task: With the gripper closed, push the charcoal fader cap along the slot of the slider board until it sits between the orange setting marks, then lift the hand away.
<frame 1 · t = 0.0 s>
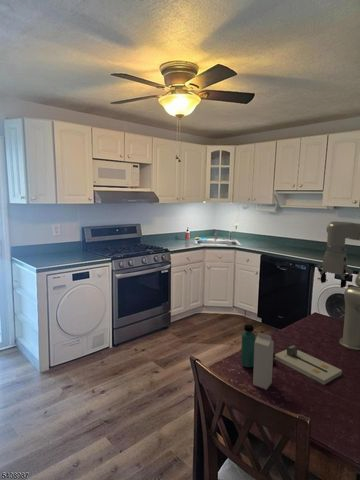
hand: (332, 284, 149), 37 cm above the table, tool pointing down, fingers open, 9 cm apart
milk: (262, 384, 132), on the table
slider board: (306, 366, 146), on the table
beverage bottle: (247, 367, 145), on the table
dragon fruit: (262, 360, 151), on the table
fader: (292, 350, 152), point 4 cm above the table, slide at -8.0 cm
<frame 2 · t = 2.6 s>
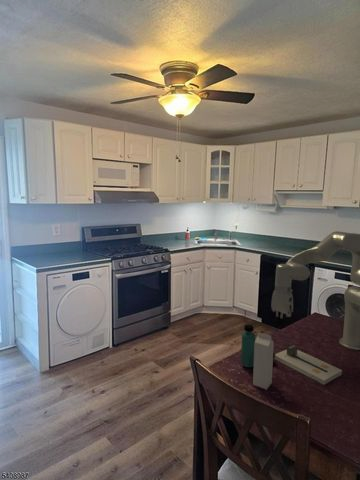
hand: (280, 324, 156), 15 cm above the table, tool pointing down, fingers closed
nothing on the table moved.
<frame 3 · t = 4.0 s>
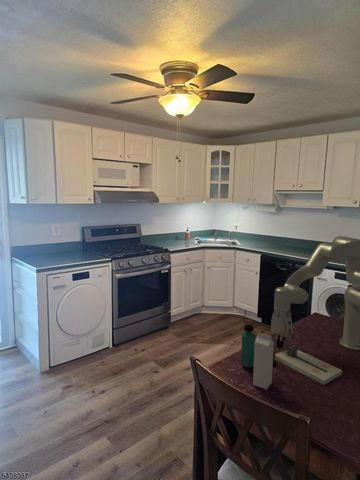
hand: (279, 347, 158), 3 cm above the table, tool pointing down, fingers closed
nothing on the table moved.
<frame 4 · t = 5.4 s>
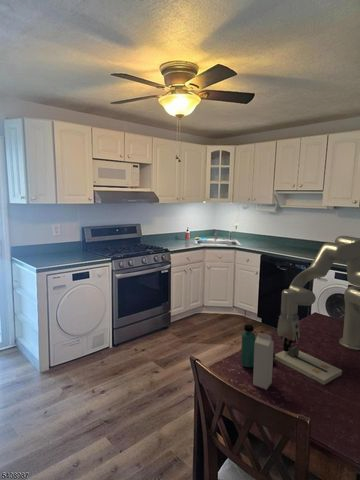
hand: (286, 350, 155), 3 cm above the table, tool pointing down, fingers closed
fader: (293, 351, 151), point 4 cm above the table, slide at -7.1 cm, touching gripper
everything else where it was.
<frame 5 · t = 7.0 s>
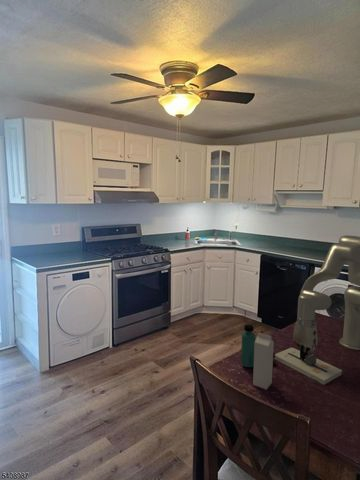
hand: (303, 358, 147), 3 cm above the table, tool pointing down, fingers closed
fader: (310, 359, 144), point 4 cm above the table, slide at 2.1 cm, touching gripper
everything else where it was.
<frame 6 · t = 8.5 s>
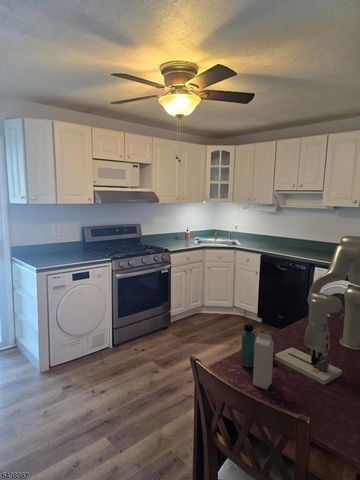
hand: (314, 363, 142), 3 cm above the table, tool pointing down, fingers closed
fader: (322, 364, 139), point 4 cm above the table, slide at 8.0 cm, touching gripper
everything else where it was.
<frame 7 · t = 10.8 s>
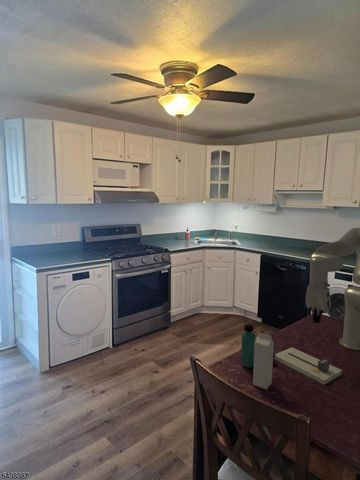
hand: (316, 322, 145), 21 cm above the table, tool pointing down, fingers closed
fader: (323, 365, 139), point 4 cm above the table, slide at 8.3 cm
everything else where it was.
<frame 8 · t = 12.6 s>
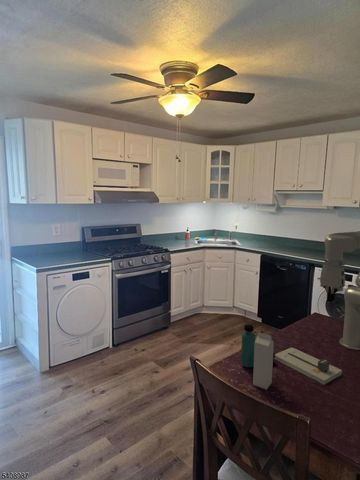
hand: (330, 300, 150), 29 cm above the table, tool pointing down, fingers closed
nothing on the table moved.
at the end: fader slide at 8.3 cm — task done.
